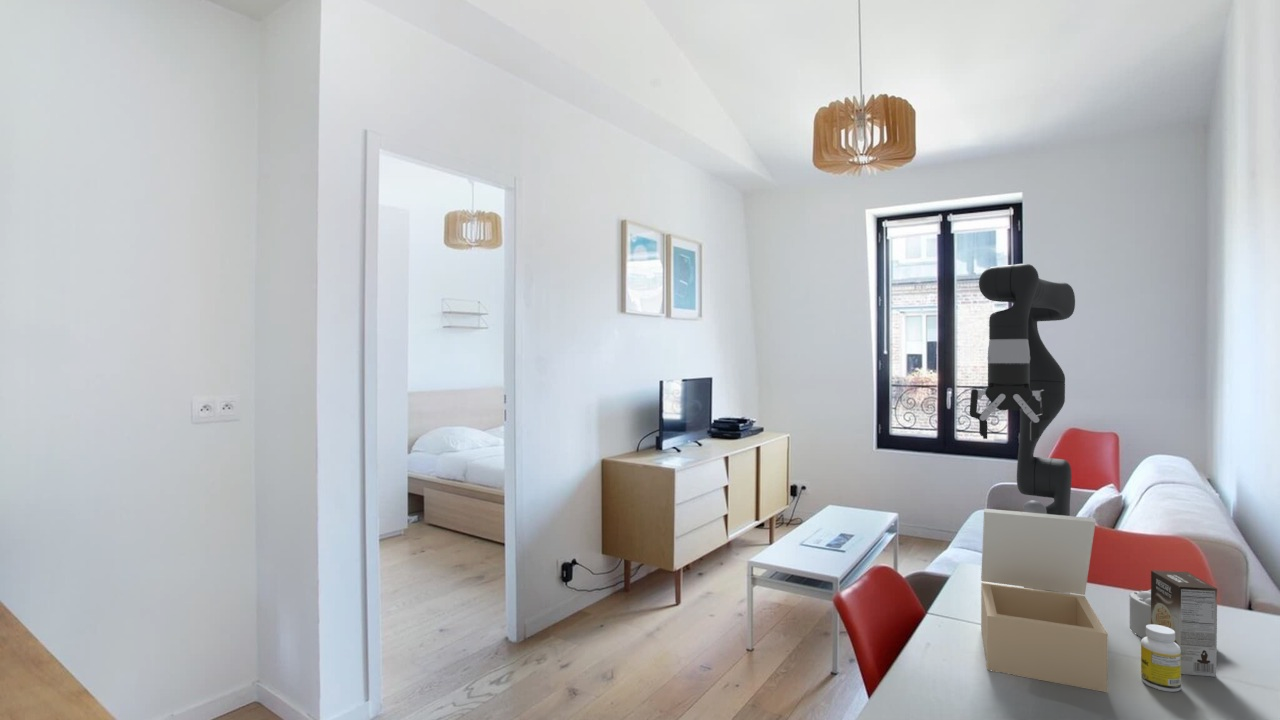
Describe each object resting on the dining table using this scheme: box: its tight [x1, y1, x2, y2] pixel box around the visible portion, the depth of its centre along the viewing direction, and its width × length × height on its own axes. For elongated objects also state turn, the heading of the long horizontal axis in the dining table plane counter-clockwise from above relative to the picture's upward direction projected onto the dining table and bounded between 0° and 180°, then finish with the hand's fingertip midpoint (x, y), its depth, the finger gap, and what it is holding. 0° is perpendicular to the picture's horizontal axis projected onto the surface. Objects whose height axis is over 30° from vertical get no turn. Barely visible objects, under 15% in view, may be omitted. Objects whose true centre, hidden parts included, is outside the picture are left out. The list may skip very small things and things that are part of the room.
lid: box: [980, 499, 1097, 596], centre depth 127 cm, size 19×18×6 cm
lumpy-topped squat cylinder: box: [1129, 589, 1151, 639], centre depth 130 cm, size 10×13×9 cm
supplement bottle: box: [1140, 624, 1182, 693], centre depth 111 cm, size 5×5×10 cm
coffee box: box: [1150, 569, 1218, 678], centre depth 118 cm, size 9×6×16 cm
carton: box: [980, 581, 1109, 693], centre depth 121 cm, size 19×18×10 cm
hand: (1008, 439), depth 132 cm, fingers open, 8 cm apart
